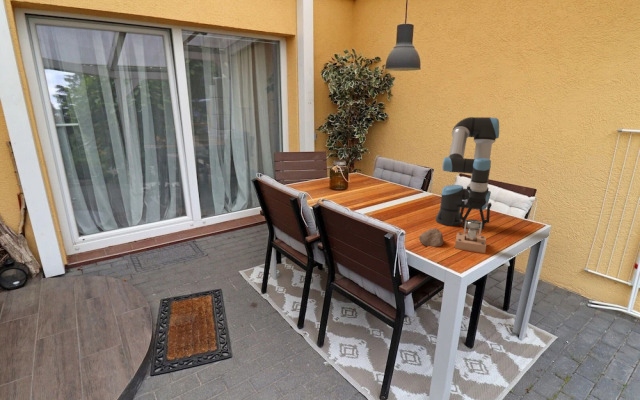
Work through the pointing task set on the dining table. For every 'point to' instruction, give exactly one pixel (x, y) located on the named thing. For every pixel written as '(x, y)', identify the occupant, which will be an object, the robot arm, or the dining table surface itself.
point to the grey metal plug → (472, 229)
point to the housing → (470, 243)
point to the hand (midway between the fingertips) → (471, 233)
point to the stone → (431, 238)
